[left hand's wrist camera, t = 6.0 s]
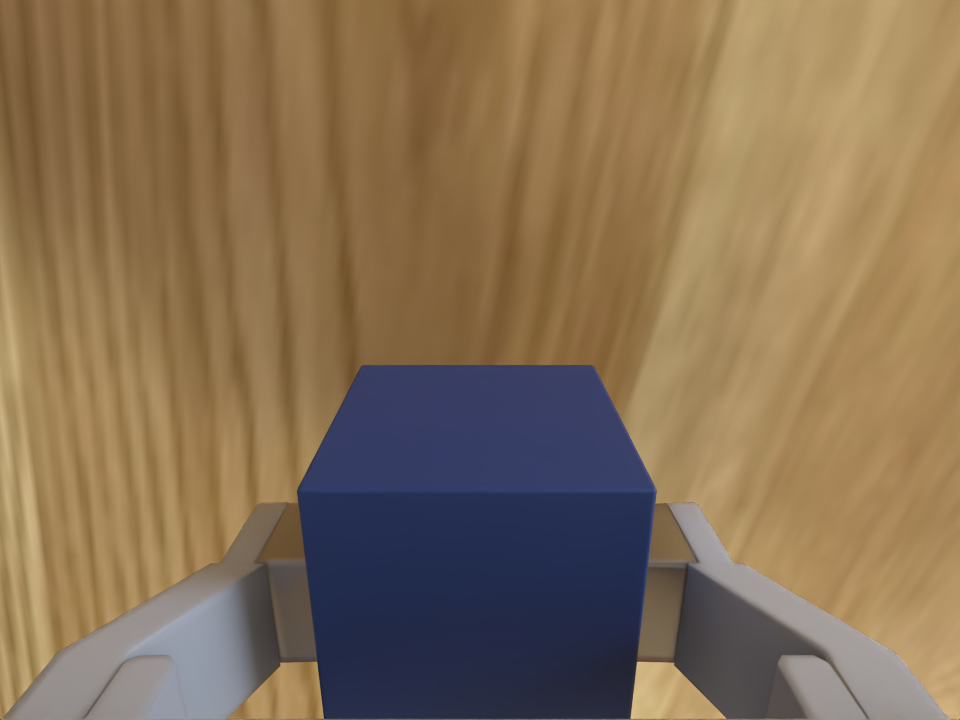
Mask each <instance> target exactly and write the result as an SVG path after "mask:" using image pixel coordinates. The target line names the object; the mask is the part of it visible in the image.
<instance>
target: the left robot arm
mask: <svg viewBox="0 0 960 720" xmlns="http://www.w3.org/2000/svg"><path fill="white" fill-rule="evenodd" d="M316 661H317V655H316V646H315V638H314V629H313V621H312V613H311V604H310V596H309V587H308V579H307V571H306V562H305V554H304V545H303V537H302V529H301V520H300V512H299V503H291V504H290V503H260V504H258V505H256V506H255V508H254V509H253V511H252V513H251V514H250V516H249V518H248V519H247V521H246V522H245V524H244V526H243V527H242V529H241V531H240V532H239V534H238V535H237V537H236V539H235V540H234V542H233V543H232V545H231V547H230V548H229V550H228V552H227V553H226V555H225V556H224V558H223V560H222V561H221V563H215V564H209V565H207V566H206V567H204V568H202V569H201V570H199V571H197V572H195V573H194V574H192V575H190V576H189V577H187V578H185V579H183V580H182V581H180V582H178V583H176V584H175V585H173V586H171V587H170V588H168V589H166V590H164V591H163V592H161V593H159V594H157V595H156V596H154V597H152V598H151V599H149V600H147V601H145V602H144V603H142V604H140V605H139V606H137V607H135V608H133V609H132V610H130V611H128V612H126V613H125V614H123V615H121V616H120V617H118V618H116V619H114V620H113V621H111V622H109V623H107V624H106V625H104V626H102V627H101V628H99V629H97V630H95V631H94V632H92V633H90V634H89V635H87V636H85V637H83V638H82V639H80V640H78V641H76V642H75V643H73V644H71V645H70V646H68V647H66V648H64V649H63V650H61V651H59V652H58V653H57V654H56V655H55V656H54V657H53V659H52V660H51V661H50V662H49V663H48V665H47V666H46V667H45V668H44V669H43V671H42V672H41V673H40V674H39V675H38V677H37V678H36V679H35V680H34V681H33V683H32V684H31V685H30V686H29V688H28V689H27V690H26V691H25V692H24V694H23V695H22V696H21V697H20V698H19V700H18V701H17V702H16V703H15V704H14V706H13V707H12V708H11V709H10V710H9V712H8V713H7V714H6V715H5V717H4V718H3V719H0V720H960V719H949V718H948V717H947V715H946V714H945V713H944V712H943V710H942V709H941V708H940V707H939V705H938V704H937V703H936V702H935V701H934V699H933V698H932V697H931V696H930V694H929V693H928V692H927V691H926V689H925V688H924V687H923V686H922V684H921V683H920V682H919V681H918V679H917V678H916V677H915V676H914V675H913V673H912V672H911V671H910V670H909V668H908V667H907V666H906V665H905V663H904V662H903V661H902V660H901V658H900V657H899V656H898V655H897V654H896V653H895V652H893V651H891V650H890V649H888V648H886V647H885V646H883V645H881V644H879V643H878V642H876V641H874V640H873V639H871V638H869V637H868V636H866V635H864V634H862V633H861V632H859V631H857V630H856V629H854V628H852V627H851V626H849V625H847V624H845V623H844V622H842V621H840V620H839V619H837V618H835V617H834V616H832V615H830V614H828V613H827V612H825V611H823V610H822V609H820V608H818V607H816V606H815V605H813V604H811V603H810V602H808V601H806V600H805V599H803V598H801V597H799V596H798V595H796V594H794V593H793V592H791V591H789V590H788V589H786V588H784V587H782V586H781V585H779V584H777V583H776V582H774V581H772V580H771V579H769V578H767V577H765V576H764V575H762V574H760V573H759V572H757V571H755V570H753V569H752V568H750V567H748V566H747V565H745V564H740V563H733V561H732V559H731V558H730V556H729V554H728V553H727V551H726V549H725V548H724V546H723V545H722V543H721V541H720V540H719V538H718V536H717V535H716V533H715V531H714V530H713V528H712V527H711V525H710V523H709V522H708V520H707V518H706V517H705V515H704V514H703V512H702V510H701V509H700V507H699V505H697V504H696V503H694V502H685V503H664V504H655V509H654V518H653V526H652V535H651V544H650V552H649V561H648V570H647V578H646V587H645V596H644V604H643V613H642V622H641V630H640V639H639V648H638V656H637V662H673V663H674V665H675V666H676V667H677V669H678V670H679V671H680V672H681V673H682V674H683V675H684V676H685V677H686V678H687V679H688V680H689V681H690V682H691V683H692V684H693V685H694V686H695V687H696V688H697V689H698V690H699V691H700V692H701V693H702V694H703V695H704V696H705V697H706V698H707V699H708V700H709V701H710V702H711V703H712V704H713V705H714V706H715V707H716V708H717V709H718V710H719V711H720V712H721V713H722V714H723V715H724V716H725V717H726V718H727V719H227V718H228V717H229V716H230V715H231V714H232V713H233V712H234V711H235V710H236V709H237V708H238V707H239V706H240V705H241V704H242V703H243V702H244V701H245V700H246V699H247V698H248V697H249V696H250V695H251V694H252V693H253V692H254V691H255V690H256V689H257V688H258V687H259V686H260V685H261V684H262V683H263V682H264V681H265V680H266V679H267V678H268V677H269V676H270V675H271V674H272V673H273V672H274V671H275V670H276V669H277V668H278V667H279V666H280V663H282V662H316Z"/></svg>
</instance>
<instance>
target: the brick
mask: <svg viewBox="0 0 960 720" xmlns="http://www.w3.org/2000/svg"><path fill="white" fill-rule="evenodd" d="M656 492H657V491H656V488H655V486H654V484H653V482H652V480H651V478H650V476H649V474H648V472H647V470H646V468H645V466H644V464H643V462H642V460H641V458H640V456H639V454H638V452H637V450H636V448H635V446H634V444H633V442H632V440H631V438H630V436H629V434H628V432H627V430H626V428H625V426H624V424H623V422H622V421H621V419H620V417H619V415H618V413H617V411H616V409H615V407H614V405H613V403H612V401H611V399H610V397H609V395H608V393H607V391H606V389H605V387H604V385H603V383H602V381H601V379H600V377H599V375H598V373H597V371H596V369H595V367H594V366H592V365H363V366H361V368H360V370H359V372H358V374H357V375H356V377H355V379H354V381H353V383H352V385H351V387H350V389H349V391H348V393H347V395H346V397H345V399H344V401H343V402H342V404H341V406H340V408H339V410H338V412H337V414H336V416H335V418H334V420H333V422H332V424H331V426H330V427H329V429H328V431H327V433H326V435H325V437H324V439H323V441H322V443H321V445H320V447H319V449H318V451H317V453H316V454H315V456H314V458H313V460H312V462H311V464H310V466H309V468H308V470H307V472H306V474H305V476H304V478H303V479H302V481H301V483H300V485H299V487H298V490H297V495H298V503H299V512H300V520H301V529H302V537H303V545H304V554H305V562H306V571H307V579H308V587H309V596H310V604H311V613H312V621H313V629H314V638H315V646H316V655H317V663H318V671H319V680H320V688H321V697H322V705H323V713H324V719H630V717H631V709H632V700H633V691H634V682H635V674H636V665H637V656H638V648H639V639H640V630H641V622H642V613H643V604H644V596H645V587H646V578H647V570H648V561H649V552H650V544H651V535H652V526H653V518H654V509H655V500H656Z"/></svg>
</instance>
